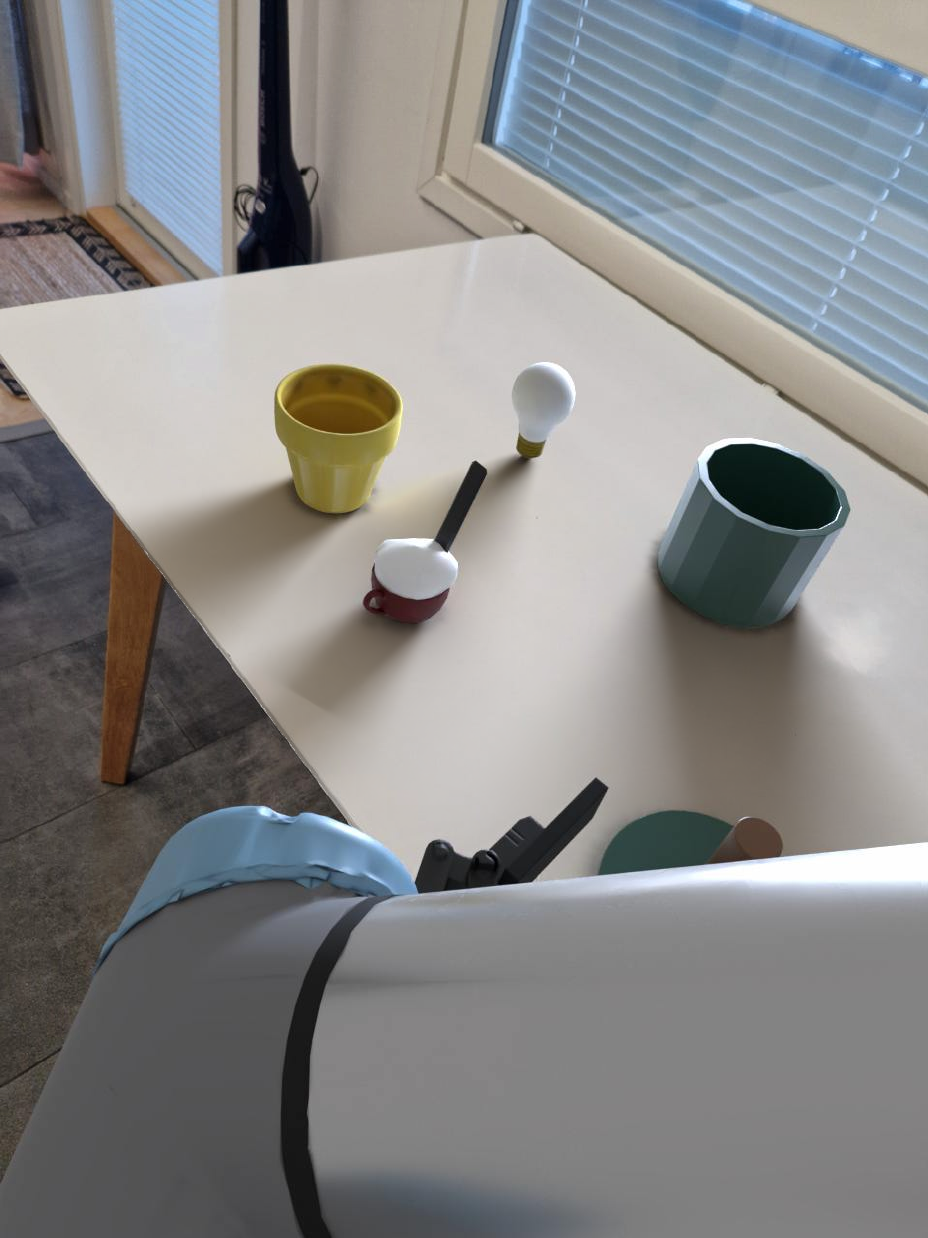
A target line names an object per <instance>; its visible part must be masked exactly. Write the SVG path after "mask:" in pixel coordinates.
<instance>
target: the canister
mask: <svg viewBox="0 0 928 1238" xmlns="http://www.w3.org/2000/svg"><path fill="white" fill-rule="evenodd" d="M850 513H851V506H850V503H849V499H848V497H847V493H846V491H845V489H844V488H843V487H842V485H841V484H839V482H838V481H837V480H836V479H835V478H834V476H833V475H832V474H831V472H829V471H828V470H826V469H825V468H823V467H822V466H820V464H818V463H816V462H815V461H814V460H812V459H811V458H809V457H808V456H806V455H805V454H803V453H800V452H798V451H795V450H793V449H790V448H789V447H786V446H784V445H781V444H779V443H774V442H769V441H765V440H760V439H754V438H752V437H747V438H746V437H745V438H725V439H722V440H720V441H717V442H715V443H713V444H710V445H708V446H706V447H705V448H704V450H703V451H702V453H701V454H700V456H699V457H698V459H697V460H696V462H695V464H694V467H693V470H692V471H691V473H690V476H689V478H688V480H687V483H686V485H685V488H684V490H683V492H682V494H681V497H680V499H679V502H678V503H677V506H676V508H675V511H674V513H673V515H672V517H671V519H670V522H669V525H668V527H667V529H666V530H665V531H666V532H665V533H664V536H663V538H662V540H661V542H660V545H659V546H658V547H659V548H658V553H657V562H656V563H657V569H658V571H659V575H660V577H661V580H662V581H663V582H664V585H665V586H666V587H667V589H668V590H669V591H670V592H671V593H672V594H673V596H675V597H676V598H677V600H679V601H680V602H681V603H682V604H683V605H685V606H686V607H688V608H689V609H691V610H692V611H694V612H695V613H697V614H698V615H700V616H703V617H705V618H707V619H709V620H711V621H714V622H716V623H720V624H723V625H726V626H731V627H737V628H745V629H752V628H753V629H754V628H755V629H756V628H762V627H763V628H764V627H768V626H771V625H774V624H776V623H778V622H780V621H781V620H783V619H784V618H786V616H787V615H788V614H789V613H790V612H792V610H793V608H794V607H795V605H796V604H797V603H798V600H799V599H800V597H801V596H802V594H803V593H804V591H805V590H806V588H807V587H808V585H809V583H810V581H811V580H812V578H813V577H814V575H815V574H816V572H817V570H818V568H819V567H820V566H821V564H822V562H823V561H824V559H825V558H826V556H827V554H828V553H829V551H830V550H831V548H832V547H833V545H834V543H835V542H836V540H837V538H838V537H839V535H840V534H841V532H842V531H843V529H844V527H846V523H847V521H848V518H849V516H850Z"/></svg>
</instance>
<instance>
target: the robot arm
mask: <svg viewBox="0 0 928 1238" xmlns="http://www.w3.org/2000/svg"><path fill="white" fill-rule="evenodd" d="M609 789H610V787H609V786H608V785H606V784H605V783H604V782H603V781H602V780H601V779H599V778H598V777H597V776H595V777H594V778H593V779H592V780H591V781H590V782H589V783H588V784H587V785H586V786H585V787H584V788H583V789H582V790H581V792H579V793H578V794H577V795H576V796H575V797H574V798H573V799H572V800H571V801H570V802H569V804H567V806H565V808H563V809H562V810H561V811H560V812H559V813H558V814H557V815H556V816H555V818H554V819H552V820H551V821H550V823H548V824H547V826H546V827H545V826H543V825H542V824H541V823H540V822H538V821H537V819H535V818H534V817H532V816H531V815H528V816H526V817H525V816H524V817H523V818H520V819H519V820H517V822H516V823H515V824H513V825H512V826H511V828H509V829H508V830H507V831H506V832H505V833H504V834H503V835H502V836H501V837H500V838H499V839H498V840H496V842H495V843H494V844H492V846H491V847H490V848H488V849H487V848H485V849H480V850H478V851H476V852H475V853H474V854H473V856H472V857H470V856H467V855H464V854H462V853H459V852H456V851H455V849H454V847H453V845H452V844H451V843H450V842H449V841H447V840H445V839H440V838H437V839H433V840H431V841H430V842H429V843H428V844H427V845H426V847H425V850H424V853H423V856H422V859H421V862H420V865H419V868H418V871H417V874H416V877H415V880H414V878H413V877H412V874H411V873H410V871H409V870H408V869H407V867H406V866H405V865H404V864H403V862H402V861H401V860H400V859H399V858H398V857H397V856H396V855H395V854H394V853H393V852H392V851H390V850H389V848H387V847H386V846H385V845H383V844H382V843H381V842H380V841H378V840H377V839H376V838H373V837H372V836H370V835H369V834H367V833H365V832H363V831H361V830H359V829H358V828H356V827H353V826H351V825H348V824H346V823H343V822H341V821H338V820H336V819H334V818H331V817H329V816H326V815H320V814H316V813H313V812H301V813H299V814H298V815H297V816H289V815H285V814H283V813H280V812H277V811H275V810H273V809H272V808H270V807H268V806H265V805H242V806H241V805H240V806H231V807H227V808H221V809H217V810H215V811H212V812H208V813H206V814H202V815H200V816H198V817H197V818H195V819H193V820H191V821H190V822H188V823H186V824H185V825H184V826H182V827H181V828H180V829H179V830H178V831H176V833H174V834H173V835H172V836H170V838H169V840H168V841H167V842H166V844H165V845H164V846H163V847H162V848H161V850H160V851H159V853H158V855H157V857H156V858H155V861H154V862H153V863H152V866H151V868H150V869H149V872H148V874H147V875H146V877H145V879H144V880H143V883H142V885H141V886H140V887H139V889H138V891H137V893H136V896H135V897H134V899H133V901H132V903H131V905H130V906H129V909H128V910H127V912H126V914H125V915H124V918H123V920H122V921H121V923H120V925H119V926H118V929H117V931H115V932H111V934H110V935H109V936H108V938H107V939H106V941H105V943H104V944H103V947H102V949H101V952H100V955H99V957H98V960H97V962H96V964H95V966H94V968H93V970H92V974H91V978H90V985H89V987H88V989H87V991H86V994H85V996H84V998H83V1000H82V1002H81V1005H80V1007H79V1009H78V1011H77V1013H76V1016H75V1018H74V1020H73V1022H72V1024H71V1027H70V1029H69V1031H68V1033H67V1035H66V1038H65V1040H64V1042H63V1044H62V1047H61V1049H60V1051H59V1054H58V1055H57V1058H56V1060H55V1061H54V1062H55V1063H54V1064H53V1067H52V1069H51V1071H50V1074H49V1076H48V1077H47V1080H46V1082H45V1084H44V1087H43V1089H42V1091H41V1093H40V1096H39V1098H38V1100H37V1102H36V1104H35V1107H34V1109H33V1111H32V1113H31V1116H30V1118H29V1120H28V1122H27V1125H26V1127H25V1129H24V1131H23V1133H22V1135H21V1138H20V1139H19V1142H18V1143H17V1144H18V1145H17V1146H16V1149H15V1151H14V1153H13V1156H12V1158H11V1160H10V1162H9V1164H8V1165H7V1166H8V1167H7V1169H6V1170H5V1173H4V1175H3V1178H2V1180H1V1182H0V1238H928V841H927V842H917V843H907V844H906V843H905V844H898V845H896V844H895V845H888V846H877V847H868V848H859V849H848V850H838V851H829V852H819V853H818V852H817V853H808V854H798V855H788V856H780V857H778V858H768V859H758V860H748V861H738V862H729V863H719V864H709V865H699V866H689V867H679V868H669V869H659V870H650V871H640V872H630V873H620V874H610V875H600V876H597V875H591V876H582V877H581V876H580V877H573V878H572V877H571V878H564V879H563V878H562V879H553V880H543V881H535V880H536V879H537V878H538V877H539V876H540V875H541V874H542V872H544V871H545V869H546V868H547V867H548V866H549V865H550V864H552V862H553V861H554V860H555V859H556V858H557V857H558V856H559V855H560V854H561V852H563V851H564V850H565V848H567V846H569V844H570V843H571V842H572V841H573V840H574V839H575V838H576V837H577V836H578V835H579V834H580V833H581V832H582V831H583V830H584V828H585V827H586V826H587V825H588V824H589V823H590V822H591V821H592V820H593V819H594V817H595V815H596V814H597V811H598V810H599V808H600V806H601V804H602V802H603V800H604V798H605V796H606V794H607V793H608V791H609Z"/></svg>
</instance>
